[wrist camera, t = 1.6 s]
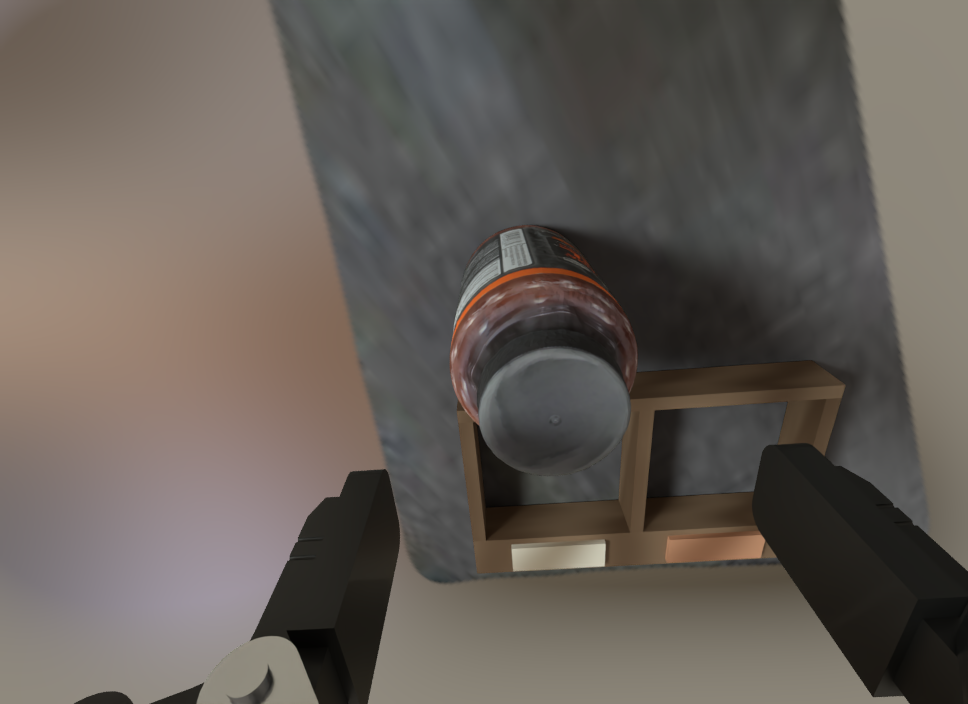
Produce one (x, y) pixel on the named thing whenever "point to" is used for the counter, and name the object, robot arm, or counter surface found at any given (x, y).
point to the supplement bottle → (542, 353)
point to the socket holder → (634, 518)
